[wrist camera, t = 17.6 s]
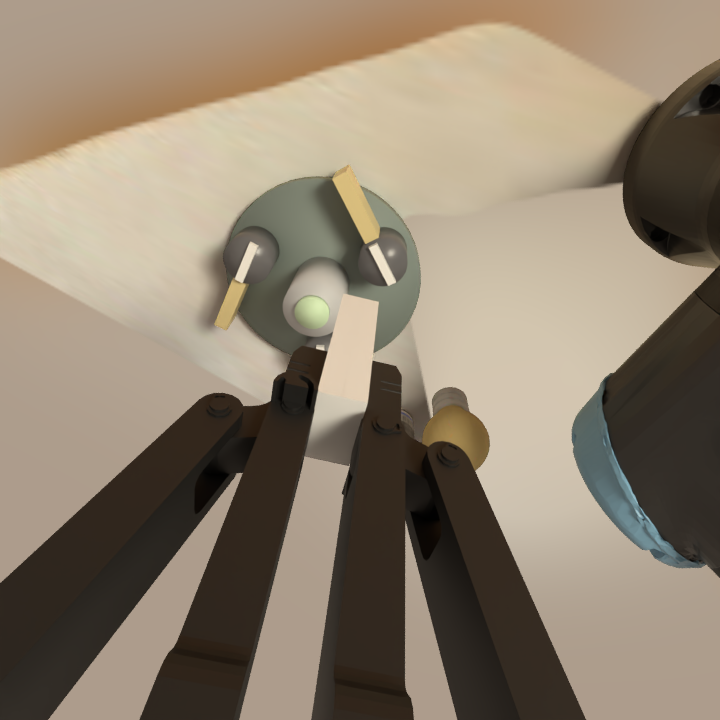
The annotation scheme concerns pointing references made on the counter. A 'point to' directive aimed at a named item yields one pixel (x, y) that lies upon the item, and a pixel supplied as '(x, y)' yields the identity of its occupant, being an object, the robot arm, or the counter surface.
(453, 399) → the light bulb
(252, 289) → the tribrach plate
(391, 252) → the knob
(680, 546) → the robot arm
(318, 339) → the knob
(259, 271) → the knob
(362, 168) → the counter surface
